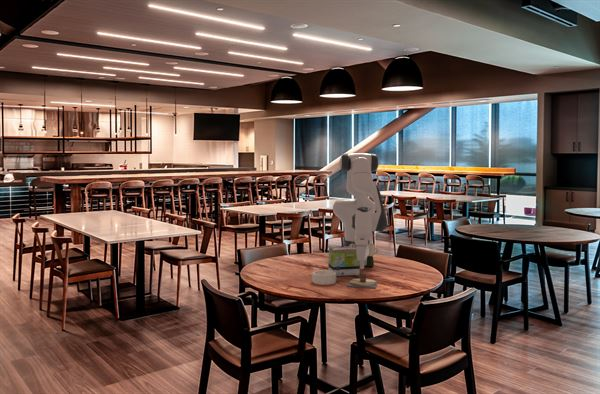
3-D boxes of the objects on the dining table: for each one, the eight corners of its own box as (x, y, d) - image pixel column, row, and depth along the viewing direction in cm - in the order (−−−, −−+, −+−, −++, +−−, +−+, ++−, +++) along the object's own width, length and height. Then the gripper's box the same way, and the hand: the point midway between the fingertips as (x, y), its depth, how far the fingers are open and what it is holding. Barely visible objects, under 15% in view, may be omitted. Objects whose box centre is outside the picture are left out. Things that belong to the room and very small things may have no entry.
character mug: (378, 265, 304) (378, 243, 303) (377, 268, 297) (377, 245, 296) (359, 264, 306) (360, 243, 305) (358, 267, 299) (359, 245, 298)
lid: (351, 279, 267) (352, 270, 267) (376, 280, 264) (377, 271, 264) (348, 285, 255) (348, 275, 254) (374, 287, 251) (374, 277, 251)
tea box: (334, 276, 275) (334, 249, 274) (328, 272, 285) (328, 246, 283) (360, 275, 279) (360, 248, 278) (353, 271, 289) (353, 245, 287)
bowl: (315, 278, 271) (315, 269, 271) (337, 280, 269) (337, 270, 268) (310, 284, 260) (310, 274, 259) (333, 285, 257) (333, 275, 257)
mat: (351, 280, 268) (351, 278, 268) (378, 281, 264) (378, 280, 264) (346, 286, 254) (347, 285, 254) (375, 288, 251) (375, 287, 251)
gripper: (359, 236, 268) (359, 262, 269) (354, 242, 248) (354, 270, 249) (372, 237, 267) (371, 263, 267) (367, 242, 247) (367, 271, 248)
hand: (363, 266), depth 258 cm, fingers open, 8 cm apart
